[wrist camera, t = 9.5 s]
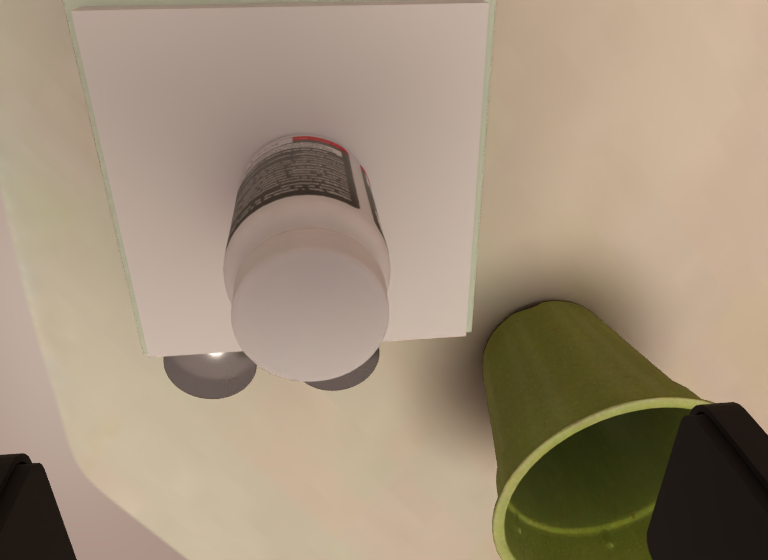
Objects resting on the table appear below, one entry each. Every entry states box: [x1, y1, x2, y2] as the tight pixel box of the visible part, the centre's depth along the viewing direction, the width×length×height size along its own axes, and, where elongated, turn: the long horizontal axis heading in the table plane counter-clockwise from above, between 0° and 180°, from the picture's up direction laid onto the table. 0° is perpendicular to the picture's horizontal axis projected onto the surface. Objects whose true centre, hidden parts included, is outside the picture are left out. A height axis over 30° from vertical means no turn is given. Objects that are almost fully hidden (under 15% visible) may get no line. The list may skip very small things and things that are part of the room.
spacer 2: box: [304, 347, 379, 391], centre depth 34 cm, size 4×4×3 cm
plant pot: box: [482, 301, 715, 560], centre depth 33 cm, size 12×12×11 cm
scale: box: [63, 0, 496, 357], centre depth 27 cm, size 15×14×7 cm
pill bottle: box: [223, 134, 391, 382], centre depth 20 cm, size 5×5×8 cm
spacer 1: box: [164, 351, 257, 399], centre depth 33 cm, size 4×4×3 cm
